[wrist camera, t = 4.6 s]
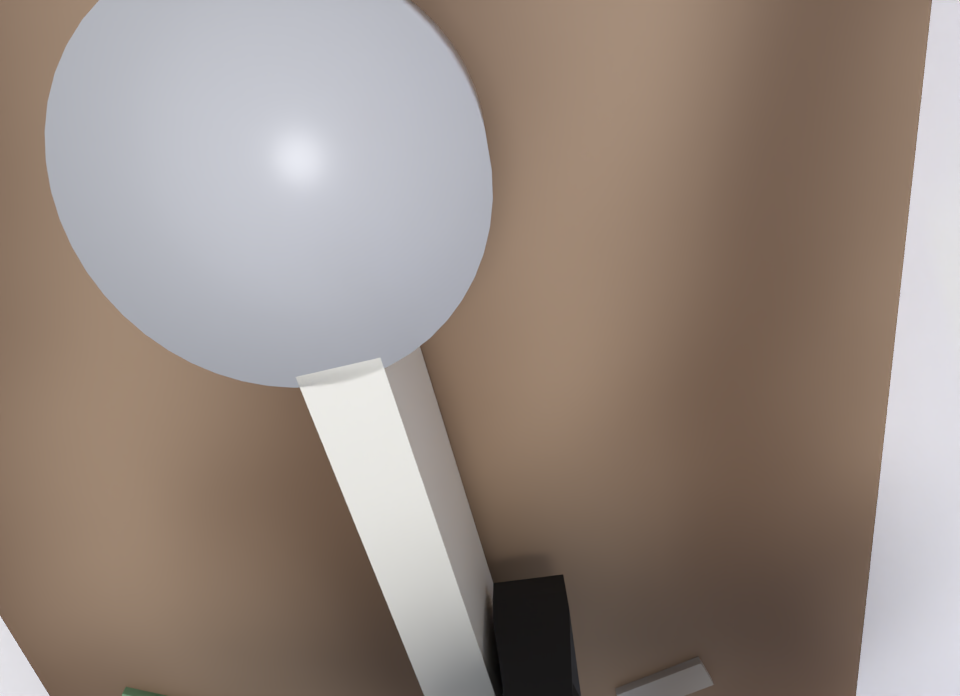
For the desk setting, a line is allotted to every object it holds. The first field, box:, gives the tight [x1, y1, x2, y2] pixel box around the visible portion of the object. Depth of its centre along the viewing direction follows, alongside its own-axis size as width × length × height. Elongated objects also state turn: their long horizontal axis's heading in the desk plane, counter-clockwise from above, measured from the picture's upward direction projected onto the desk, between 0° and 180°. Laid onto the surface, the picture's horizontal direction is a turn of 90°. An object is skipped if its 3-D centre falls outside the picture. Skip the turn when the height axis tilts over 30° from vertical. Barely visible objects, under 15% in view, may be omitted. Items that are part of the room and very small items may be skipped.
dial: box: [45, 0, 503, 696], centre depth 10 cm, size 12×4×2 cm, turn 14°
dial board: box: [0, 0, 932, 696], centre depth 12 cm, size 16×18×1 cm
